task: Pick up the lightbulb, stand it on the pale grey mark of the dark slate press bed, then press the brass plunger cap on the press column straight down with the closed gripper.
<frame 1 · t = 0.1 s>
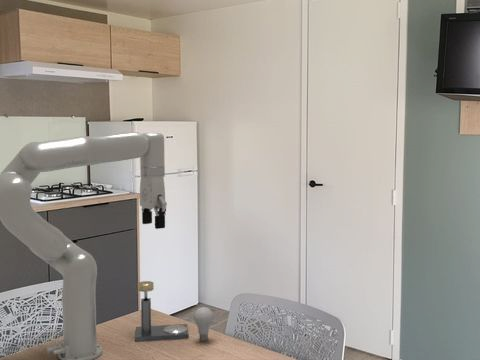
hand: (153, 225, 169), 37 cm above the table, tool pointing down, fingers open, 9 cm apart
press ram: (145, 293, 172), point 14 cm above the table, slide at 0.0 cm
lightbulb: (203, 341, 169), on the table
press bed: (161, 334, 174), on the table
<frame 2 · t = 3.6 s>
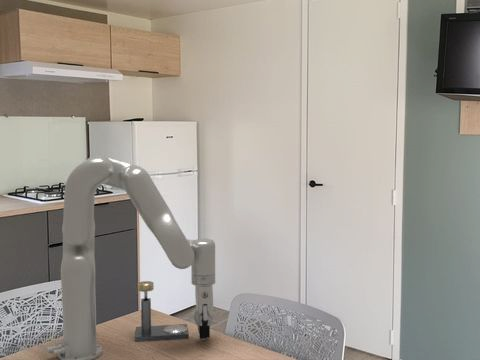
hand: (203, 333, 169), 2 cm above the table, tool pointing down, fingers closed on lightbulb, 5 cm apart
lightbulb: (203, 341, 169), on the table, touching gripper
everything else where it was.
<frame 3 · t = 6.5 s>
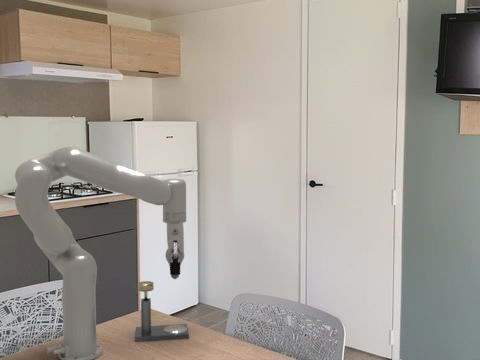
hand: (174, 271, 173), 21 cm above the table, tool pointing down, fingers closed on lightbulb, 5 cm apart
lightbulb: (175, 279, 173), point 18 cm above the table, touching gripper
everything else where it was.
when the fingers open (5 cm above the table, at t = 9.8 s): lightbulb moves 1 cm, resting on press bed.
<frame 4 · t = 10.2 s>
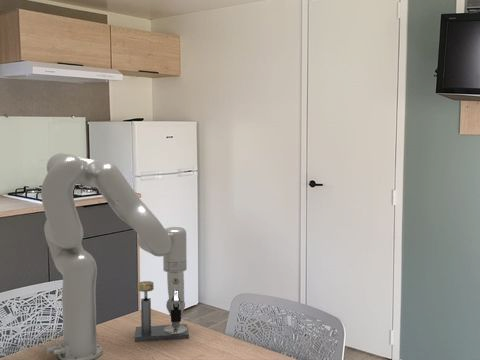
hand: (175, 316, 175), 6 cm above the table, tool pointing down, fingers open, 9 cm apart
lightbulb: (175, 328, 175), point 2 cm above the table, touching press bed
everything else where it was.
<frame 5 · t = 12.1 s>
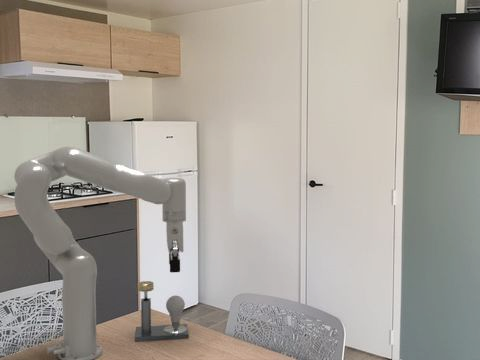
hand: (174, 268, 173), 22 cm above the table, tool pointing down, fingers open, 9 cm apart
nothing on the table moved.
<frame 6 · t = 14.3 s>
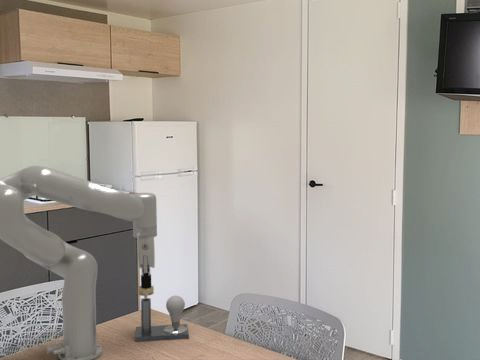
hand: (146, 287, 172), 16 cm above the table, tool pointing down, fingers closed
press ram: (145, 297, 172), point 13 cm above the table, slide at 1.3 cm, touching gripper
everything else where it was.
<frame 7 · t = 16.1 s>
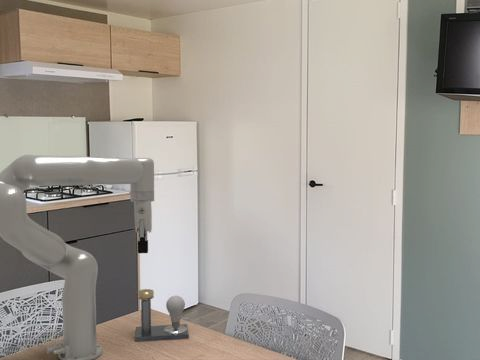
hand: (142, 252, 172), 27 cm above the table, tool pointing down, fingers closed
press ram: (145, 301, 173), point 12 cm above the table, slide at 2.7 cm
everything else where it was.
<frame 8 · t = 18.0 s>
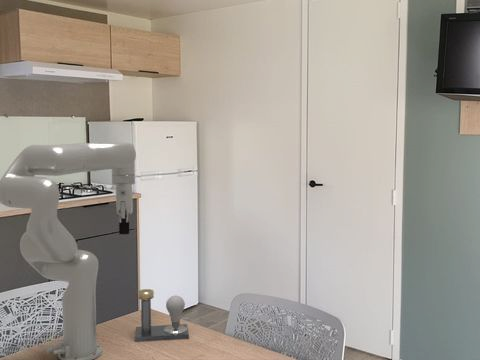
hand: (124, 233, 179), 32 cm above the table, tool pointing down, fingers closed
nothing on the table moved.
at the end: lightbulb 0.5 cm from the target spot on the press bed, point 1.5 cm above the press bed's base; lightbulb tilted 0°; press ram slide at 2.7 cm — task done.
